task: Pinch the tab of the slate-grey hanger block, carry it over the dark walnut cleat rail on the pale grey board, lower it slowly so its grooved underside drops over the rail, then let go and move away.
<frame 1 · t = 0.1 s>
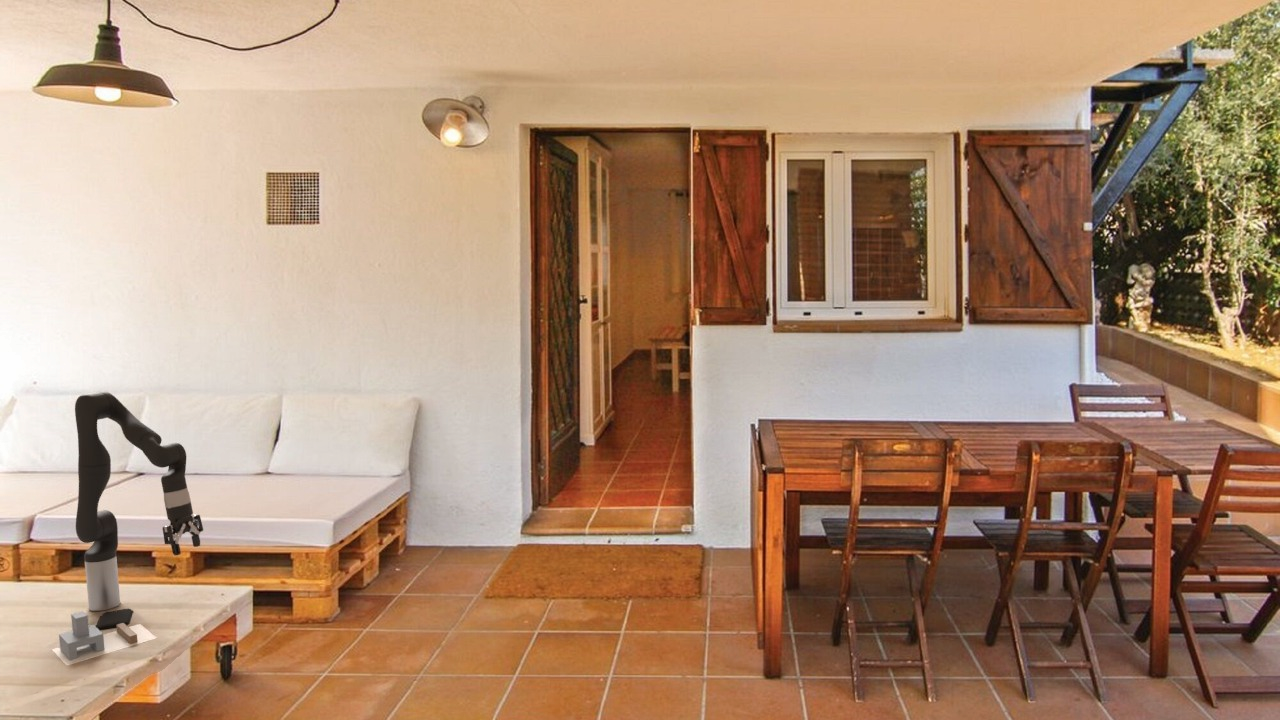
hand: (187, 550, 279), 22 cm above the table, tool pointing down, fingers open, 8 cm apart
hanger block: (82, 650, 253), point 1 cm above the table, touching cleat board
carrying case or bag: (113, 626, 275), on the table
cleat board: (105, 648, 257), on the table
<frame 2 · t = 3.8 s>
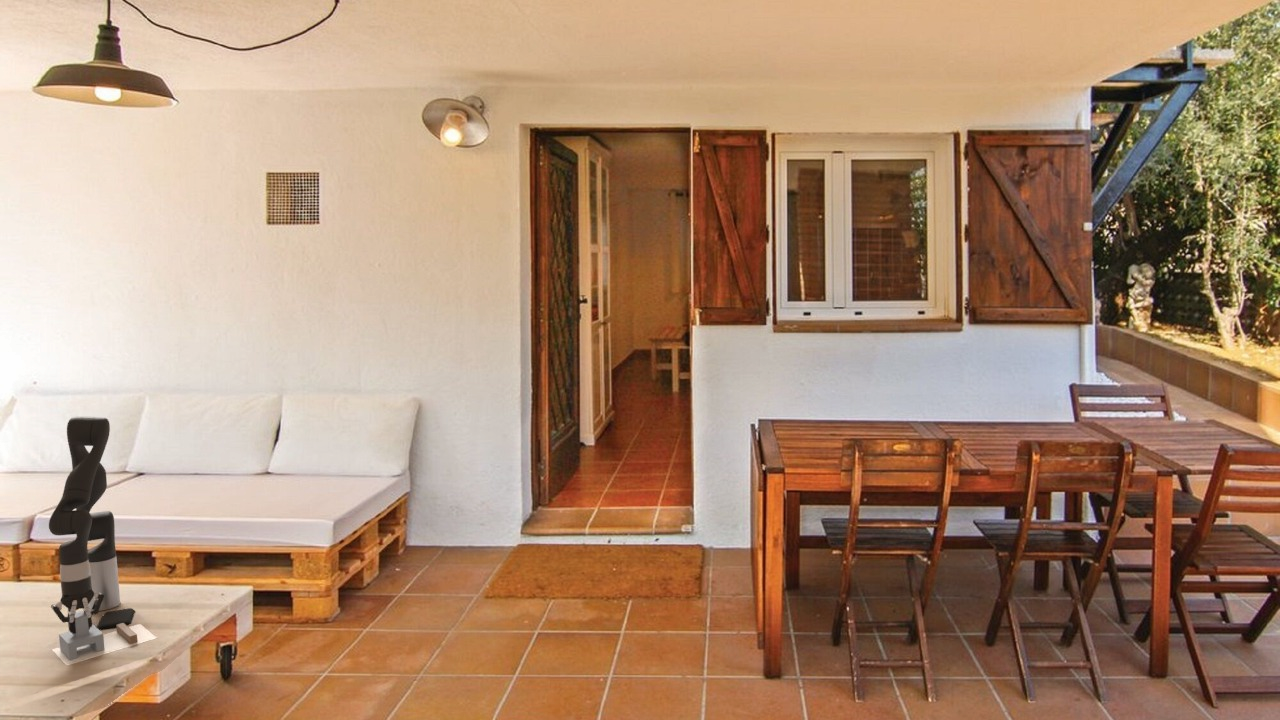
hand: (80, 630, 252), 8 cm above the table, tool pointing down, fingers closed on hanger block, 3 cm apart
hanger block: (82, 650, 253), point 2 cm above the table, touching gripper
everything else where it was.
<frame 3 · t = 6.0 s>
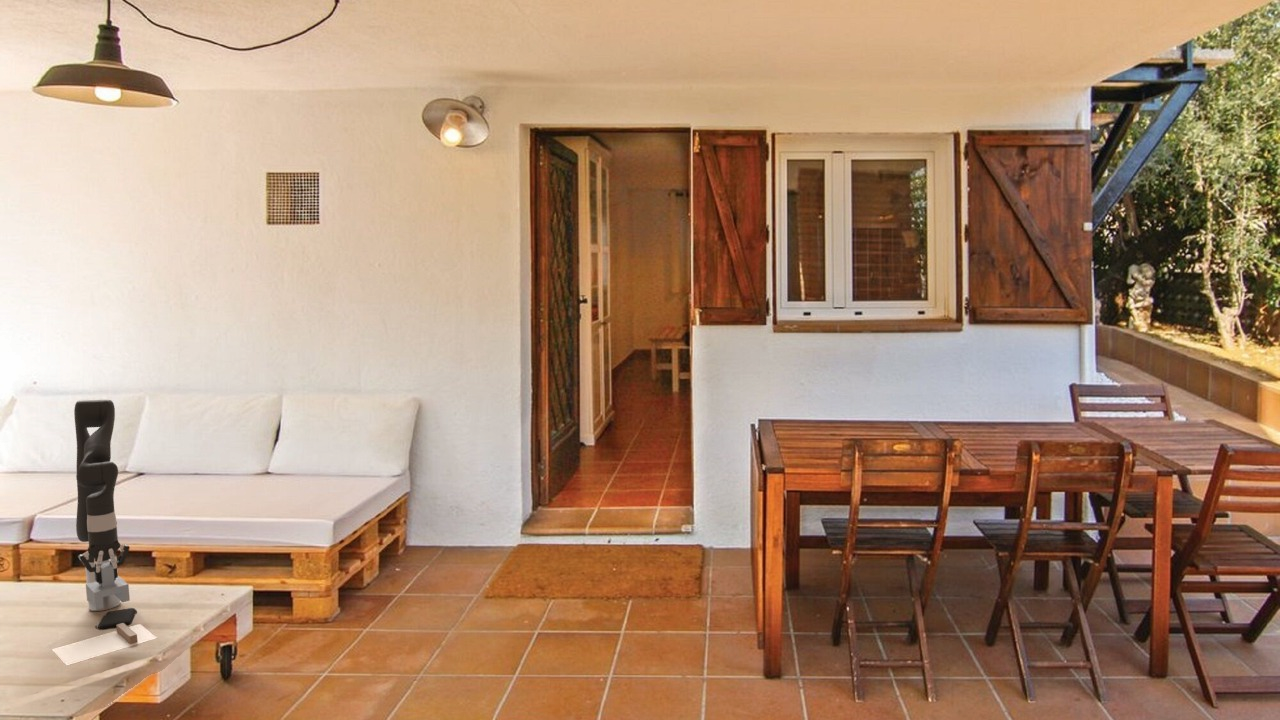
hand: (106, 581, 257), 21 cm above the table, tool pointing down, fingers closed on hanger block, 3 cm apart
hanger block: (108, 600, 257), point 15 cm above the table, touching gripper
everything else where it was.
when the fingers open (8 cm above the table, at t = 8.2 s): hanger block stays where it is, resting on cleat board.
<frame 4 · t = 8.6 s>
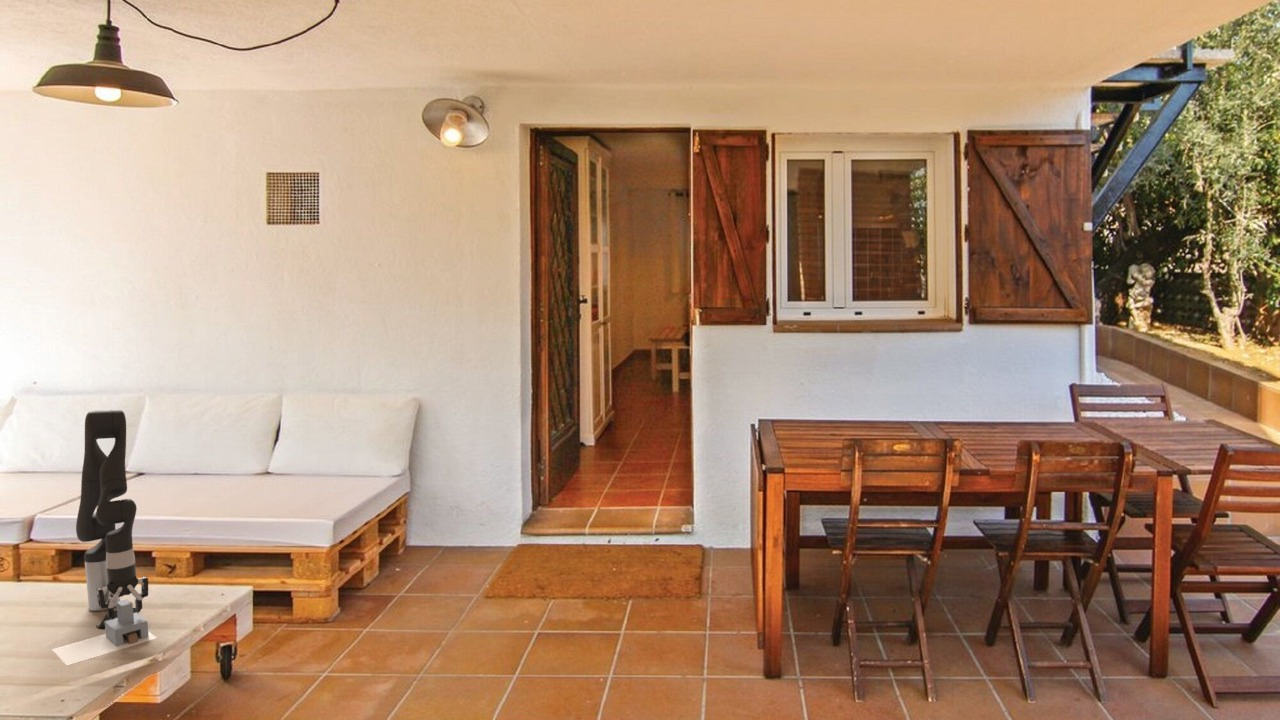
hand: (125, 614, 261), 9 cm above the table, tool pointing down, fingers open, 6 cm apart
hanger block: (127, 637, 262), point 1 cm above the table, touching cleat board
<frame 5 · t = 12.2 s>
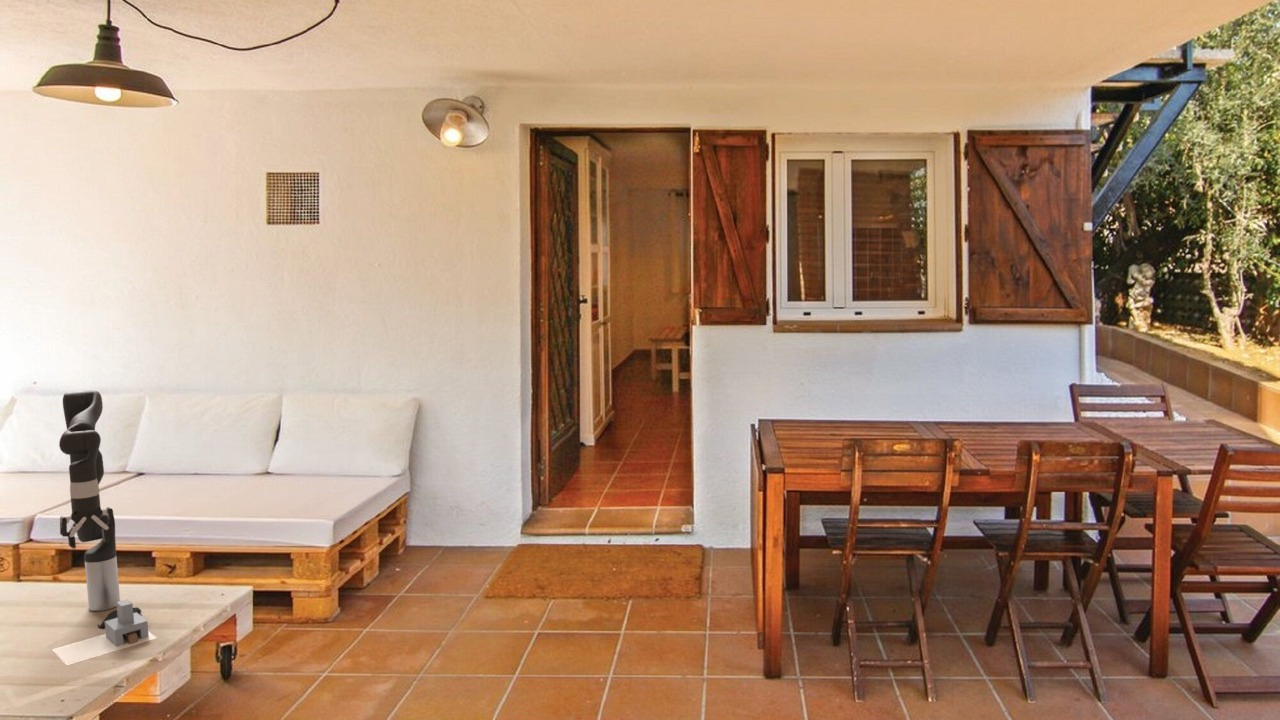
hand: (89, 544, 263), 30 cm above the table, tool pointing down, fingers open, 8 cm apart
at the end: hanger block 0.1 cm from the target spot on the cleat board, point 1.5 cm above the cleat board's base; hanger block tilted 0°; the gripper is holding nothing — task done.
